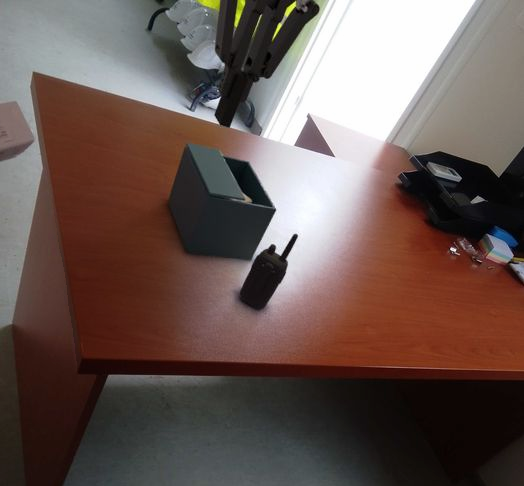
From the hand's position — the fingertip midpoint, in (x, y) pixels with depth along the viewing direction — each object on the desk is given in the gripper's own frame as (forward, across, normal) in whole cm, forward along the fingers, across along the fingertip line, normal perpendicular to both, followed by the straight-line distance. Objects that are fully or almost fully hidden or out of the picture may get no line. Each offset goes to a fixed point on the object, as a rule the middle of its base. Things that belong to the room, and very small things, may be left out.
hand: (221, 121), depth 63 cm
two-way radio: (+24, +11, -11) cm, 28 cm away
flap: (+12, +6, +8) cm, 15 cm away
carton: (+23, +9, +8) cm, 26 cm away
